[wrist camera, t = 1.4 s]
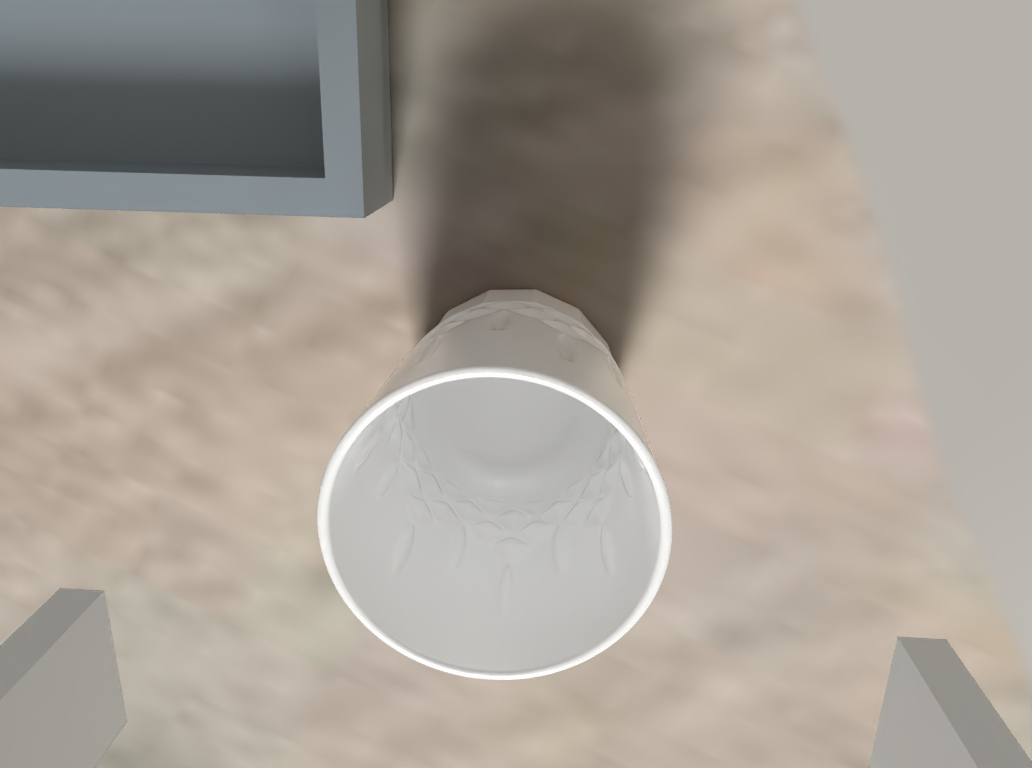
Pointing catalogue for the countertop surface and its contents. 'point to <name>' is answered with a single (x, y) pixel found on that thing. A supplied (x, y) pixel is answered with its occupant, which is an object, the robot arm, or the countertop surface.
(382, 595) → the white cup
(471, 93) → the countertop surface
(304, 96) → the bin
